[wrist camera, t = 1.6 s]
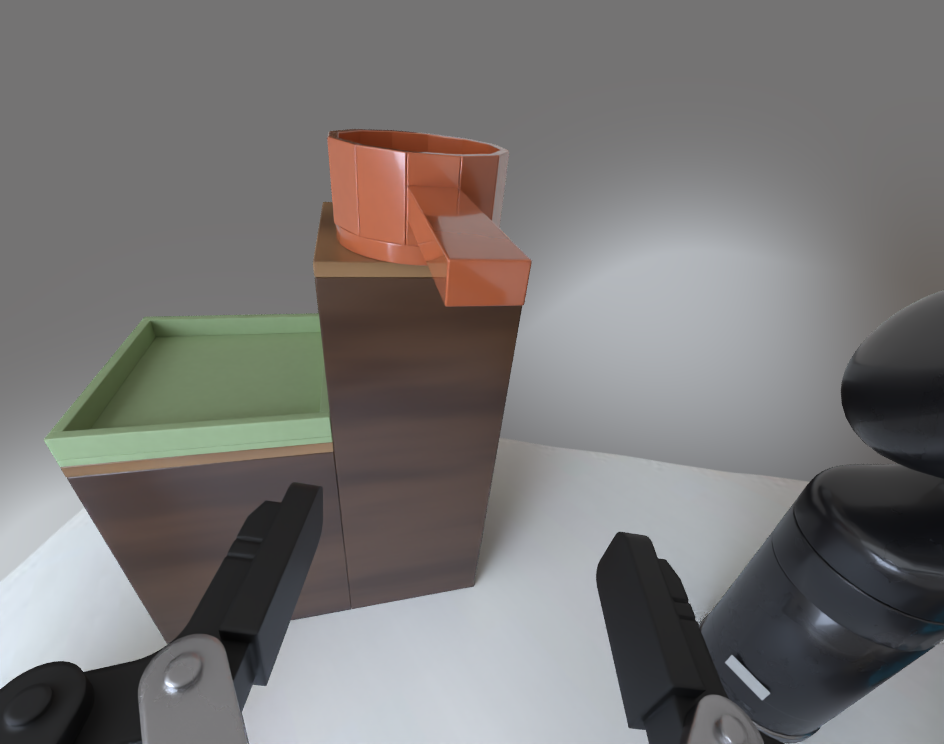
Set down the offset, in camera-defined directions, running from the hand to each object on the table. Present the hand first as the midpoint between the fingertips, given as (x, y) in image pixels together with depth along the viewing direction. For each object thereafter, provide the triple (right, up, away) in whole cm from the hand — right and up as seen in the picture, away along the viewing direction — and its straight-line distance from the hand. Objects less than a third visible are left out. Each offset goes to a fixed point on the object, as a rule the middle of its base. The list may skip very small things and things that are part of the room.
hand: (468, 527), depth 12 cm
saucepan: (-2, +9, +9) cm, 13 cm away
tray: (-17, +3, +19) cm, 25 cm away
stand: (-13, -13, +31) cm, 36 cm away
